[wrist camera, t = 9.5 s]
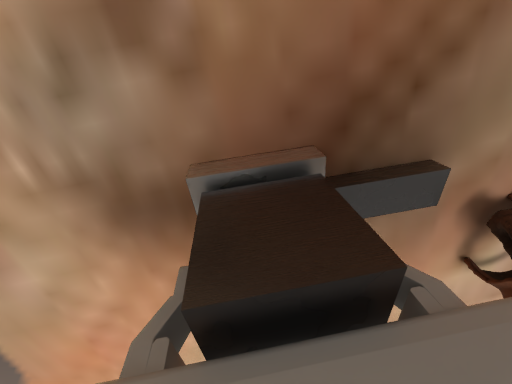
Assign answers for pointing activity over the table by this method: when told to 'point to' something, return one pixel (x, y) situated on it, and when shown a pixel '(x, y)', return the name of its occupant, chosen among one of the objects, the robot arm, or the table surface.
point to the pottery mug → (508, 232)
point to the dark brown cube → (284, 267)
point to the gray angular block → (328, 179)
